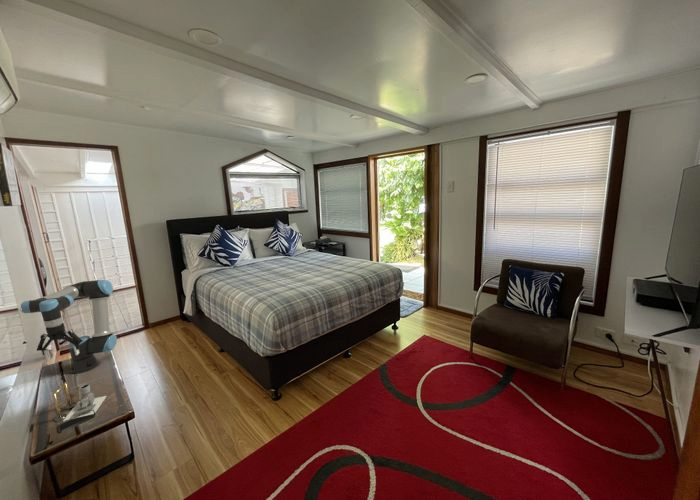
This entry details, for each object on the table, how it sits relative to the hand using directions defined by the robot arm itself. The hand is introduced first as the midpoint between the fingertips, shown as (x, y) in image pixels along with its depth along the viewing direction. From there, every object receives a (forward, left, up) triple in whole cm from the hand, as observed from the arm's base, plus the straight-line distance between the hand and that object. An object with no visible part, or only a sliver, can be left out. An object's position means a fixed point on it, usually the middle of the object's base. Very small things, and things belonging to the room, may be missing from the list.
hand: (63, 356), depth 171 cm
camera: (+13, +12, -29) cm, 34 cm away
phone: (+24, +12, -30) cm, 40 cm away
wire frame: (+12, +2, -29) cm, 32 cm away
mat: (+13, +12, -29) cm, 34 cm away
